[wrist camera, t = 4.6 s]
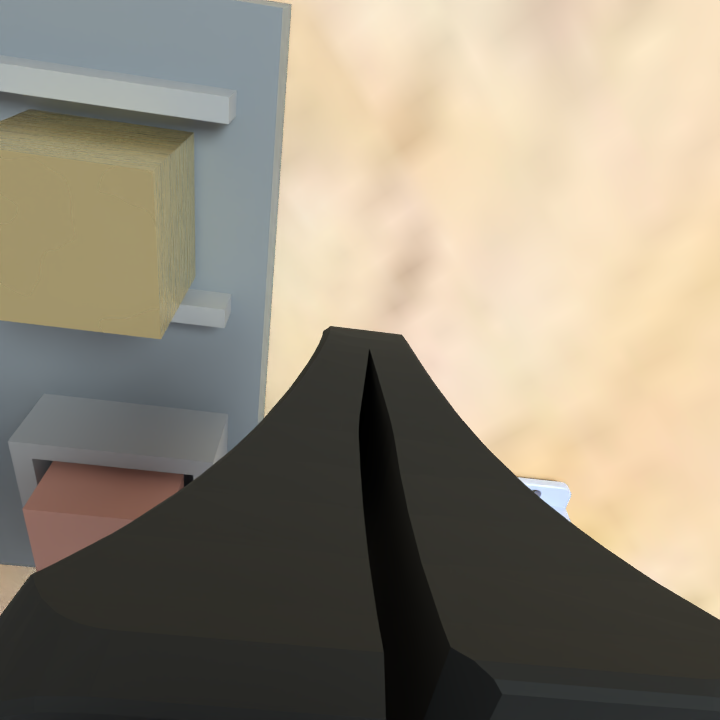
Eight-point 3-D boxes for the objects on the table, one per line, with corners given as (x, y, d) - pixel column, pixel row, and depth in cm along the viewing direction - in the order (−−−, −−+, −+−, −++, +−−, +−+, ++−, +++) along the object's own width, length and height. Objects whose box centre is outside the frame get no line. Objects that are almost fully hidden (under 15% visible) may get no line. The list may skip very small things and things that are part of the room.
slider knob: (193, 132, 15) (153, 170, 12) (195, 277, 17) (161, 339, 14) (29, 109, 15) (-53, 142, 12) (52, 258, 17) (-14, 318, 14)
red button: (183, 474, 19) (166, 523, 17) (185, 557, 21) (170, 608, 19) (53, 460, 19) (22, 508, 17) (68, 546, 21) (42, 597, 19)
